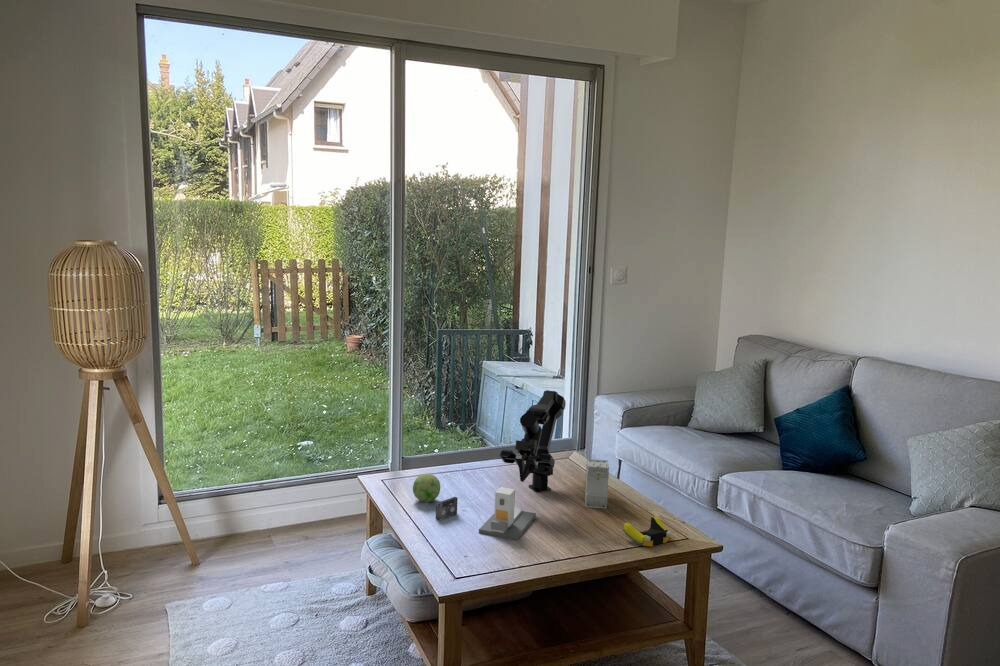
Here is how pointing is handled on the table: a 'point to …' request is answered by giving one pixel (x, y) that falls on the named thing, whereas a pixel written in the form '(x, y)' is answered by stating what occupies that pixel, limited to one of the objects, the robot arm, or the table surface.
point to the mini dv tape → (446, 508)
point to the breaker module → (505, 505)
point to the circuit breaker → (596, 483)
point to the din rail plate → (501, 529)
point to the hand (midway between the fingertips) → (521, 481)
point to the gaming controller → (648, 533)
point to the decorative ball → (426, 487)
